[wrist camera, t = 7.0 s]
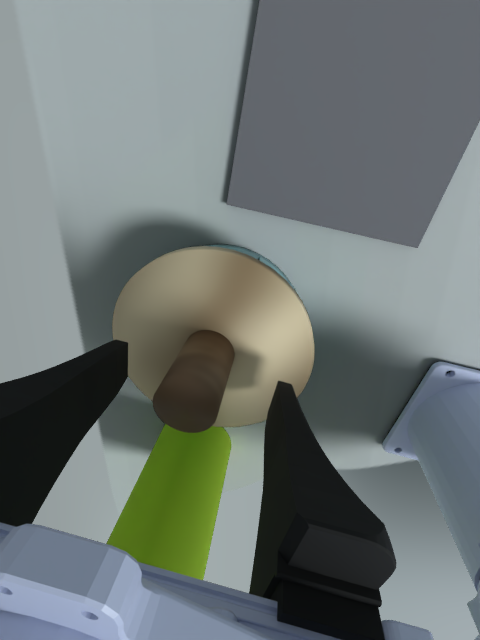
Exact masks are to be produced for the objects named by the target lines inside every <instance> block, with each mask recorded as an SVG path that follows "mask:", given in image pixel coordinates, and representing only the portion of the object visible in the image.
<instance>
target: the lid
mask: <svg viewBox="0 0 480 640" xmlns="http://www.w3.org/2000/svg"><path fill="white" fill-rule="evenodd" d="M112 331H113V340H120V341H124V342H128V376H129V378H130V379H131V380H132V381H133V383H134V384H135V385H136V386H137V388H138V389H139V390H140V391H141V392H142V393H143V394H144V395H145V396H147V397H148V398H149V399H150V400H151V401H153V407H154V410H155V412H156V414H157V416H158V417H159V418H160V419H161V420H162V421H163V422H164V423H165V424H167V425H168V426H170V427H172V428H173V429H176V430H178V431H182V432H187V433H198V432H202V431H205V430H207V429H209V428H210V427H211V426H215V427H240V426H246V425H252V424H255V423H259V422H262V421H264V420H267V413H268V410H269V407H270V404H271V401H272V398H273V395H274V392H275V389H276V386H277V382H278V381H282V382H286V383H290V384H292V386H293V388H294V391H295V394H296V397H297V398H298V396H299V395H300V394H301V392H302V391H303V390H304V388H305V386H306V384H307V382H308V380H309V377H310V374H311V372H312V368H313V362H314V339H313V332H312V326H311V322H310V319H309V316H308V313H307V311H306V308H305V306H304V304H303V302H302V300H301V299H300V297H299V296H298V294H297V293H296V291H295V290H294V289H293V288H292V286H291V285H290V284H289V283H288V282H287V281H286V280H285V279H284V278H283V277H282V276H281V275H280V274H278V273H277V272H276V271H275V270H274V269H272V268H271V267H269V266H268V265H266V264H265V263H263V262H262V261H260V260H258V259H256V258H254V257H252V256H249V255H247V254H244V253H241V252H238V251H235V250H232V249H227V248H222V247H212V246H197V247H187V248H183V249H178V250H175V251H172V252H169V253H167V254H164V255H162V256H160V257H159V258H157V259H155V260H153V261H152V262H150V263H149V264H147V265H146V266H144V267H143V268H142V269H140V270H139V271H138V272H137V273H135V274H134V275H133V277H132V278H131V279H130V280H129V281H128V282H127V283H126V285H125V286H124V288H123V290H122V291H121V293H120V295H119V297H118V300H117V302H116V305H115V309H114V313H113V322H112Z"/></svg>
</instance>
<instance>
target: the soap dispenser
mask: <svg viewBox="0 0 480 640" xmlns="http://www.w3.org/2000/svg"><path fill="white" fill-rule="evenodd" d="M230 450H231V440H230V437H229V435H228V433H227V432H226V431H225V429H224V428H223V427H215V426H211V427H210V428H209V429H207V430H205V431H202V432H198V433H187V432H182V431H178V430H176V429H173V428H172V427H170V426H168V425H167V424H165V425H164V427H163V429H162V431H161V433H160V435H159V438H158V440H157V442H156V444H155V446H154V448H153V450H152V452H151V454H150V456H149V458H148V460H147V462H146V464H145V466H144V468H143V470H142V472H141V474H140V476H139V478H138V480H137V482H136V484H135V486H134V488H133V490H132V492H131V495H130V497H129V499H128V501H127V503H126V505H125V507H124V509H123V511H122V513H121V515H120V517H119V519H118V521H117V523H116V525H115V527H114V529H113V531H112V533H111V536H110V537H109V539H108V541H107V543H106V544H108V545H112V546H114V547H116V548H119V549H121V550H123V551H126V552H127V553H128V554H130V555H131V556H132V557H133V558H135V559H136V560H137V562H141V563H144V564H148V565H151V566H155V567H158V568H162V569H165V570H169V571H172V572H176V573H179V574H183V575H186V576H190V577H193V578H197V579H200V580H203V578H204V574H205V569H206V564H207V559H208V554H209V550H210V545H211V540H212V536H213V531H214V526H215V521H216V516H217V512H218V507H219V502H220V498H221V493H222V488H223V484H224V479H225V474H226V469H227V465H228V460H229V455H230Z"/></svg>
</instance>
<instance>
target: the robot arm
mask: <svg viewBox="0 0 480 640" xmlns="http://www.w3.org/2000/svg"><path fill="white" fill-rule="evenodd" d="M450 370H452V371H451V372H450V373H446V372H447V371H450ZM127 377H128V342H124V341H120V340H113V341H111V342H109V343H106V344H104V345H102V346H100V347H98V348H96V349H94V350H92V351H89V352H87V353H85V354H83V355H81V356H79V357H76V358H74V359H72V360H69V361H67V362H64V363H62V364H60V365H57V366H55V367H52V368H49V369H47V370H44V371H41V372H38V373H35V374H32V375H29V376H26V377H23V378H19V379H15V380H12V381H8V382H5V383H1V384H0V640H434V639H433V636H432V634H431V632H429V631H428V630H426V629H423V628H419V627H415V626H412V625H408V624H405V623H401V622H397V621H393V620H383V621H381V619H380V614H379V609H378V607H380V606H381V604H382V601H381V596H380V591H379V588H380V587H381V586H382V585H383V584H384V582H385V581H386V580H387V579H388V578H389V577H390V576H391V575H392V574H393V572H394V570H395V569H396V559H395V555H394V552H393V548H392V545H391V542H390V539H389V536H388V533H387V531H386V528H385V525H384V524H383V523H382V522H381V520H380V519H378V518H377V516H376V515H375V514H373V512H372V511H371V510H370V509H369V508H368V507H367V506H366V505H365V504H364V503H363V502H362V501H361V500H360V499H359V498H358V496H357V495H356V494H355V493H354V492H353V491H352V489H351V488H350V487H349V486H348V485H347V483H346V482H345V481H344V480H343V478H342V477H341V476H340V474H339V473H338V472H337V470H336V469H335V468H334V467H333V465H332V464H331V462H330V461H329V459H328V458H327V456H326V455H325V453H324V452H323V450H322V448H321V447H320V445H319V443H318V442H317V440H316V438H315V436H314V434H313V432H312V431H311V429H310V427H309V425H308V423H307V420H306V418H305V416H304V414H303V412H302V409H301V407H300V405H299V402H298V400H297V397H296V394H295V391H294V388H293V386H292V384H290V383H286V382H282V381H278V382H277V386H276V389H275V392H274V395H273V398H272V401H271V404H270V407H269V410H268V413H267V420H266V427H265V441H264V481H263V494H262V502H261V512H260V519H259V527H258V535H257V542H256V550H255V557H254V564H253V571H252V578H251V585H250V592H249V593H245V592H242V591H238V590H235V589H232V588H228V587H224V586H221V585H218V584H214V583H211V582H207V581H204V580H200V579H197V578H193V577H190V576H186V575H183V574H179V573H176V572H172V571H169V570H165V569H162V568H158V567H155V566H151V565H148V564H144V563H141V562H137V560H136V559H135V558H133V557H132V556H131V555H130V554H128V553H127V552H126V551H123V550H121V549H119V548H116V547H114V546H112V545H108V544H104V543H101V542H98V541H94V540H90V539H87V538H83V537H80V536H76V535H73V534H69V533H66V532H62V531H59V530H55V529H52V528H48V527H45V526H41V525H35V524H32V522H33V521H34V519H35V517H36V515H37V513H38V511H39V509H40V508H41V506H42V504H43V502H44V501H45V499H46V497H47V495H48V493H49V492H50V490H51V488H52V487H53V485H54V483H55V482H56V480H57V478H58V477H59V475H60V473H61V472H62V470H63V468H64V467H65V465H66V463H67V462H68V460H69V459H70V457H71V456H72V454H73V452H74V451H75V449H76V448H77V446H78V445H79V443H80V442H81V440H82V439H83V437H84V436H85V435H86V433H87V432H88V431H89V429H90V428H91V427H92V426H93V424H94V423H95V422H96V421H97V419H98V418H99V417H100V416H101V414H102V413H103V412H104V411H105V409H106V408H107V407H108V406H109V404H110V403H111V402H112V400H113V399H114V398H115V397H116V395H117V394H118V392H119V391H120V389H121V387H122V386H123V384H124V382H125V380H126V379H127ZM382 445H383V448H384V450H385V451H386V452H389V453H392V454H396V455H400V456H404V457H408V458H412V459H416V460H419V463H420V465H421V467H422V469H423V471H424V474H425V476H426V478H427V481H428V483H429V485H430V487H431V490H432V491H433V494H434V496H435V498H436V501H437V503H438V505H439V507H440V509H441V512H442V514H443V516H444V519H445V521H446V523H447V525H448V528H449V530H450V532H451V534H452V536H453V539H454V541H455V543H456V545H457V548H458V550H459V552H460V555H461V557H462V559H463V561H464V564H465V566H466V568H467V570H468V572H469V575H470V577H471V579H472V581H473V584H474V586H475V588H476V590H477V596H476V597H475V598H474V599H473V600H471V601H470V602H468V604H467V605H468V607H469V610H470V612H471V615H472V617H473V620H474V622H475V625H476V627H477V629H478V632H479V634H480V371H479V370H474V369H470V368H466V367H462V366H458V365H454V364H450V363H446V362H436V363H434V364H433V365H432V366H431V367H430V369H429V371H428V372H427V374H426V375H425V377H424V378H423V380H422V382H421V383H420V385H419V386H418V388H417V389H416V391H415V393H414V394H413V396H412V397H411V399H410V401H409V402H408V404H407V405H406V407H405V408H404V410H403V412H402V413H401V415H400V416H399V418H398V419H397V421H396V423H395V424H394V426H393V427H392V429H391V430H390V432H389V434H388V435H387V437H386V438H385V440H384V442H383V444H382ZM475 640H480V635H478V636H477V637H476V639H475Z"/></svg>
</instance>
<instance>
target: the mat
mask: <svg viewBox="0 0 480 640" xmlns="http://www.w3.org/2000/svg"><path fill="white" fill-rule="evenodd" d="M479 121H480V0H260V1H259V7H258V13H257V19H256V25H255V31H254V38H253V44H252V50H251V56H250V62H249V69H248V75H247V81H246V87H245V93H244V100H243V106H242V112H241V118H240V124H239V131H238V137H237V143H236V149H235V155H234V162H233V168H232V174H231V180H230V186H229V192H228V199H227V205H231V206H236V207H240V208H244V209H249V210H253V211H257V212H262V213H266V214H271V215H275V216H279V217H284V218H288V219H292V220H297V221H301V222H306V223H310V224H314V225H319V226H323V227H327V228H332V229H336V230H341V231H345V232H349V233H354V234H358V235H362V236H367V237H371V238H376V239H380V240H384V241H389V242H393V243H397V244H402V245H406V246H411V247H415V248H418V246H419V244H420V242H421V240H422V238H423V236H424V234H425V232H426V230H427V228H428V226H429V224H430V222H431V219H432V217H433V215H434V213H435V211H436V209H437V207H438V205H439V203H440V201H441V199H442V197H443V195H444V193H445V191H446V189H447V187H448V185H449V183H450V181H451V179H452V176H453V174H454V172H455V170H456V168H457V166H458V164H459V162H460V160H461V158H462V156H463V154H464V152H465V150H466V148H467V146H468V144H469V142H470V140H471V138H472V135H473V133H474V131H475V129H476V127H477V125H478V123H479Z"/></svg>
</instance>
